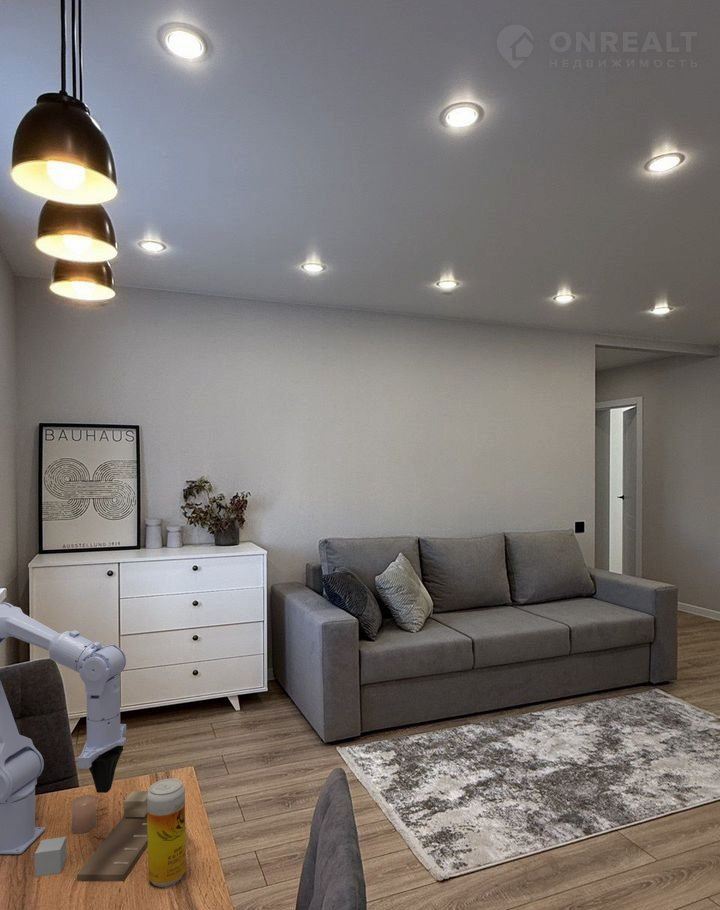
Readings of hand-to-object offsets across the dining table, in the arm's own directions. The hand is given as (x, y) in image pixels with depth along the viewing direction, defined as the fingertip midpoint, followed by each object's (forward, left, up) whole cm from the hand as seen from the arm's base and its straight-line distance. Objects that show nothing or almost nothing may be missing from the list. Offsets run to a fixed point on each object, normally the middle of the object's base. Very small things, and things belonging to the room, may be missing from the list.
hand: (103, 790), depth 111 cm
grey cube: (-7, -6, -10) cm, 14 cm away
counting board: (+4, +2, -10) cm, 11 cm away
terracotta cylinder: (-7, +7, -10) cm, 15 cm away
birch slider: (+3, +10, -9) cm, 14 cm away
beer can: (+15, -8, -11) cm, 20 cm away
